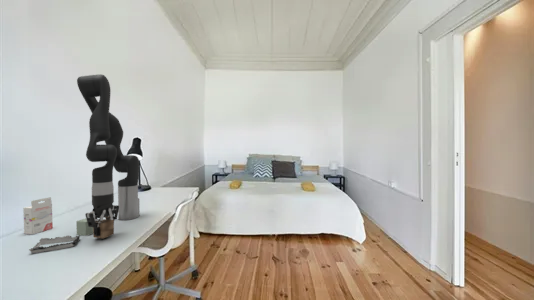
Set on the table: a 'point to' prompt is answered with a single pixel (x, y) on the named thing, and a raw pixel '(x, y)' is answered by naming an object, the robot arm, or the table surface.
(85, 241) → the table surface
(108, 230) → the walnut block
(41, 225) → the ink cartridge box
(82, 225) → the sage block
